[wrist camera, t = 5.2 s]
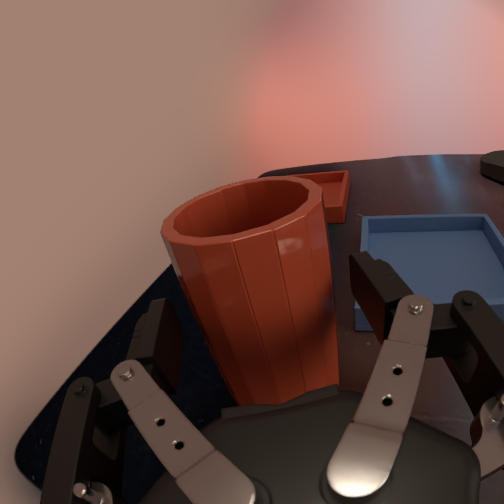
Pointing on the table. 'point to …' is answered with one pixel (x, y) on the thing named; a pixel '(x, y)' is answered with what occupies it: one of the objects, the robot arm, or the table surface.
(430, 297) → the blue tray
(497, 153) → the media streaming box
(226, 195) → the red cup
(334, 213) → the red tray
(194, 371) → the table surface
